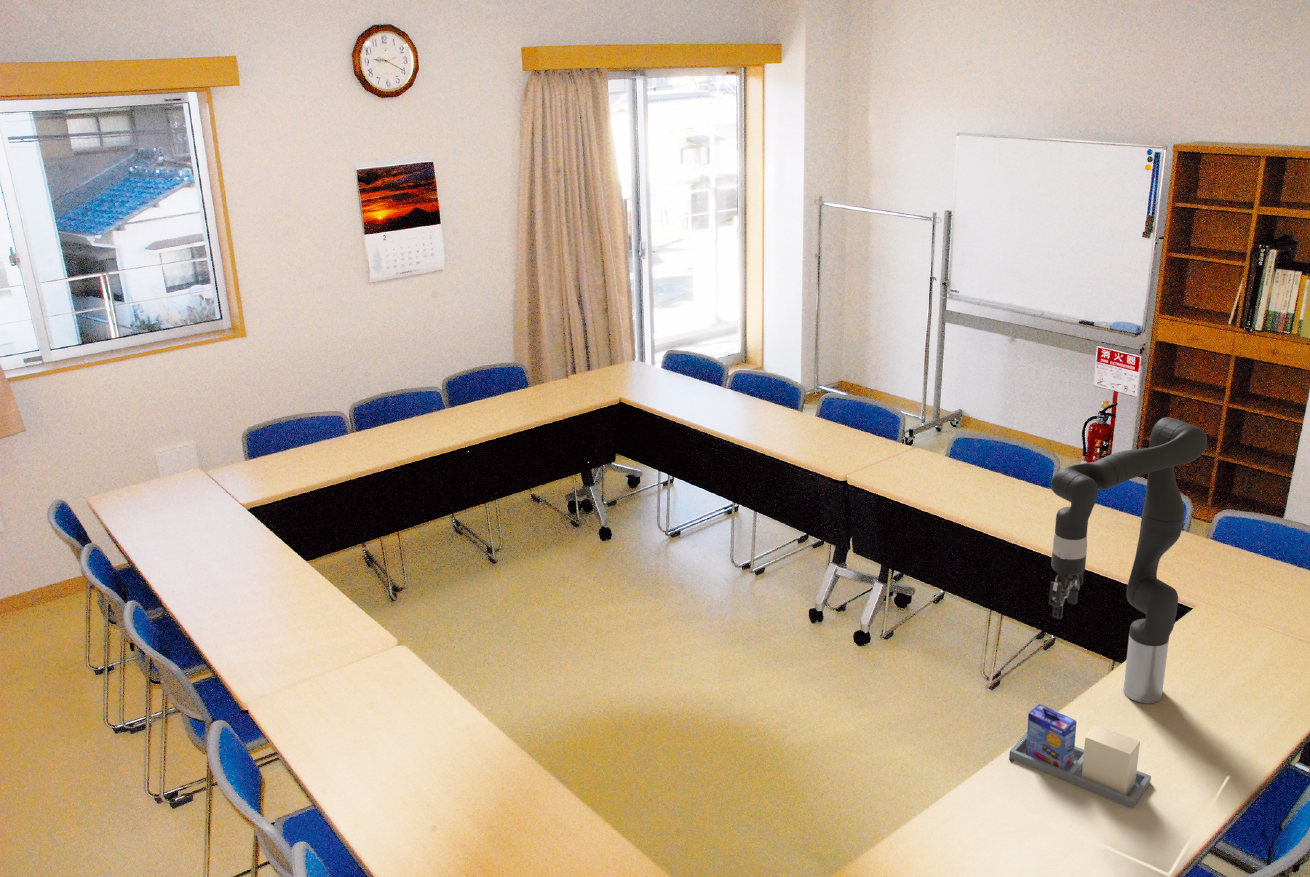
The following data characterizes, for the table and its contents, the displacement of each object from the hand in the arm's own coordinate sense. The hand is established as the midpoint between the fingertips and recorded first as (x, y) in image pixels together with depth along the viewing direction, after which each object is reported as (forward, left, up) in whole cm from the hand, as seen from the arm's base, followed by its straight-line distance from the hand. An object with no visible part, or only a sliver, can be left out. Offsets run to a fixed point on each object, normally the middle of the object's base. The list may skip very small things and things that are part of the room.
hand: (1064, 610), depth 252 cm
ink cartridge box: (+14, +4, -33) cm, 36 cm away
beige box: (+14, +18, -32) cm, 40 cm away
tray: (+14, +12, -33) cm, 38 cm away
